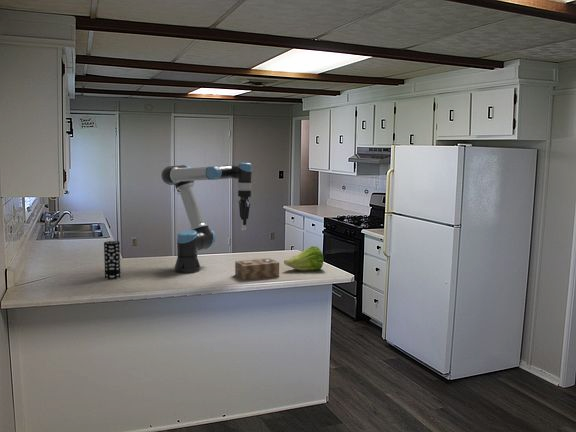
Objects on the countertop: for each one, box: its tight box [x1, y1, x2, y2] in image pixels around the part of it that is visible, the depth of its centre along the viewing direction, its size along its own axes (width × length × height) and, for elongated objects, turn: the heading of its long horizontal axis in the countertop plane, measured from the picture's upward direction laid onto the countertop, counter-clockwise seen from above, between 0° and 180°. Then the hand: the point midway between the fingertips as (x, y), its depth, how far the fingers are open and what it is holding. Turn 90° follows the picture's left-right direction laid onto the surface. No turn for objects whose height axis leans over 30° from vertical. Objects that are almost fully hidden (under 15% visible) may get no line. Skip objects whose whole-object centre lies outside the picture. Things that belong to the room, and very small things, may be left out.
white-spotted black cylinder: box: [103, 240, 122, 280], centre depth 299 cm, size 8×8×20 cm
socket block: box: [234, 257, 280, 281], centre depth 310 cm, size 22×13×8 cm, turn 117°
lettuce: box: [283, 245, 325, 272], centre depth 325 cm, size 14×24×15 cm
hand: (243, 230), depth 311 cm, fingers closed
